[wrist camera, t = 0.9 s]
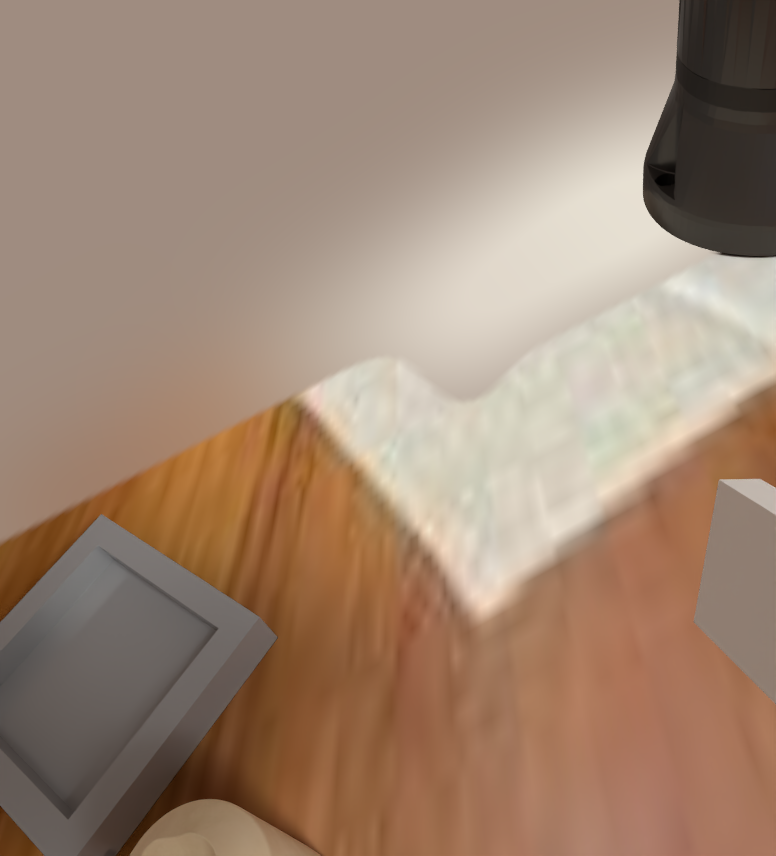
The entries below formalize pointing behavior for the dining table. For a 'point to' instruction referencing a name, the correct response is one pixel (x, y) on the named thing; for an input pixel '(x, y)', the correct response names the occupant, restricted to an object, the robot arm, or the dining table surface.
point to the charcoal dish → (112, 687)
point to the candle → (216, 833)
